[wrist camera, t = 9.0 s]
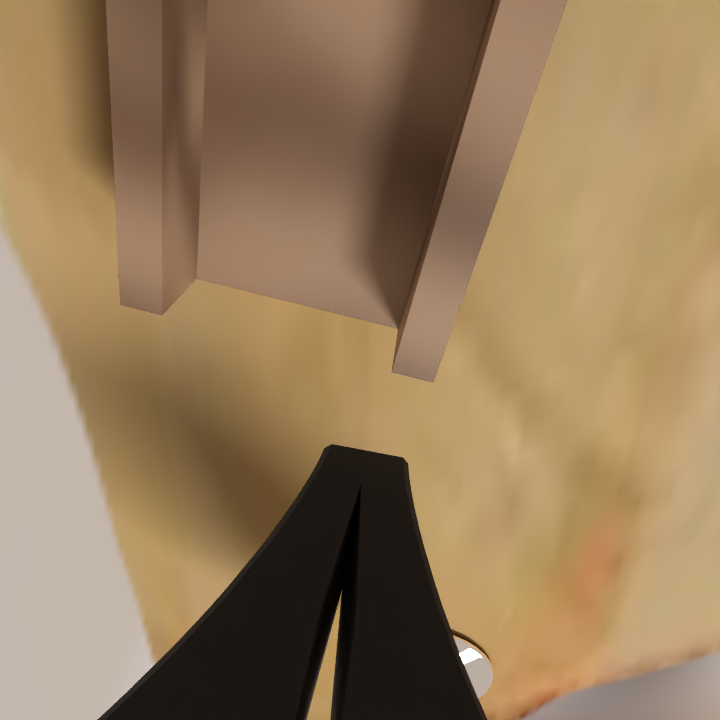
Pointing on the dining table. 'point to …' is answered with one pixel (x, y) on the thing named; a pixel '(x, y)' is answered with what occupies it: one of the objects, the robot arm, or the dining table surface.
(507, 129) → the shallow wooden tray
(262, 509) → the dining table surface
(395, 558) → the robot arm
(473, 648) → the wineglass
